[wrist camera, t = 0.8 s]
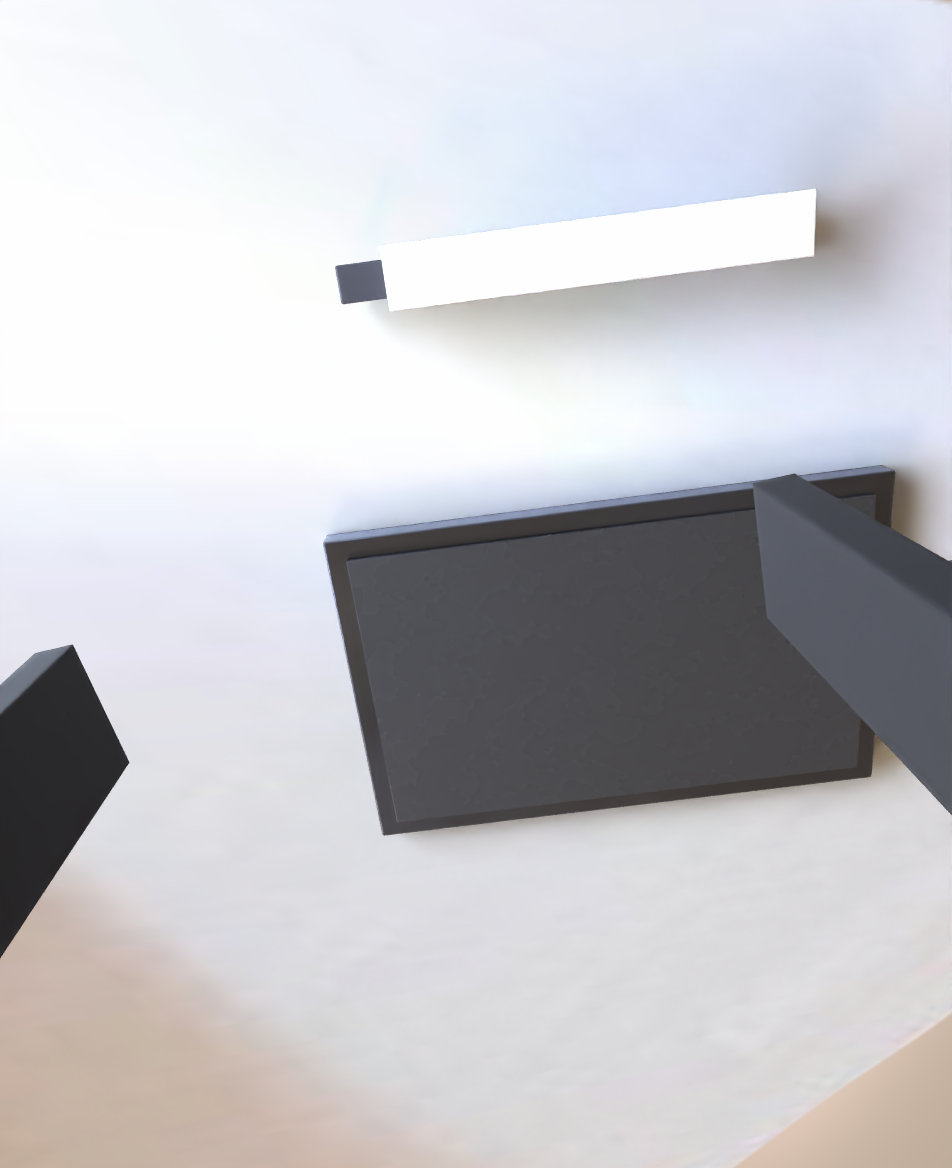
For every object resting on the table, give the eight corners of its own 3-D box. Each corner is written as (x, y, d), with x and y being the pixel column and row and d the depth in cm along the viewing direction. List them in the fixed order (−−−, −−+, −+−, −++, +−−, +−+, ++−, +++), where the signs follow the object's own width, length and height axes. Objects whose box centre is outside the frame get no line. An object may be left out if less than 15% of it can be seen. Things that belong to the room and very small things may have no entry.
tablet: (326, 534, 31) (321, 544, 30) (882, 464, 30) (899, 471, 29) (384, 822, 36) (382, 839, 35) (861, 764, 36) (874, 780, 34)
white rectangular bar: (339, 254, 27) (329, 252, 25) (787, 195, 27) (817, 187, 25) (349, 314, 28) (341, 317, 26) (785, 258, 28) (815, 256, 25)
